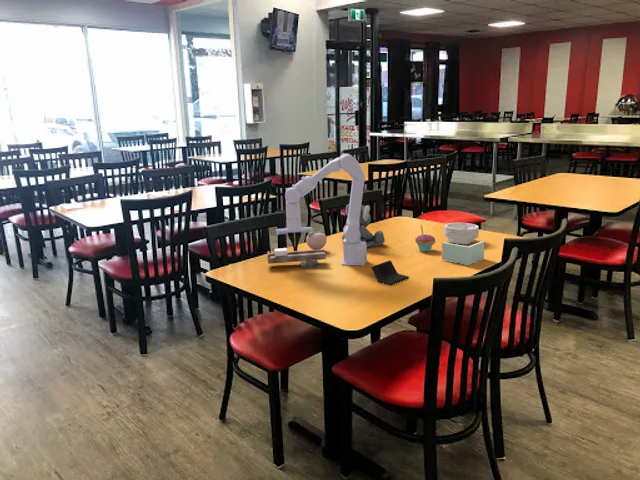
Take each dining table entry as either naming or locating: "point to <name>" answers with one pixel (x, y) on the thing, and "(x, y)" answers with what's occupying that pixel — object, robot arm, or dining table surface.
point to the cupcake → (425, 241)
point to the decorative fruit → (316, 240)
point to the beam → (297, 256)
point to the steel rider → (280, 252)
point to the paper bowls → (461, 232)
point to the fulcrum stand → (309, 263)
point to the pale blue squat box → (463, 253)
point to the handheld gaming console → (387, 273)
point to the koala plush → (365, 234)
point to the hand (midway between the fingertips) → (295, 250)
